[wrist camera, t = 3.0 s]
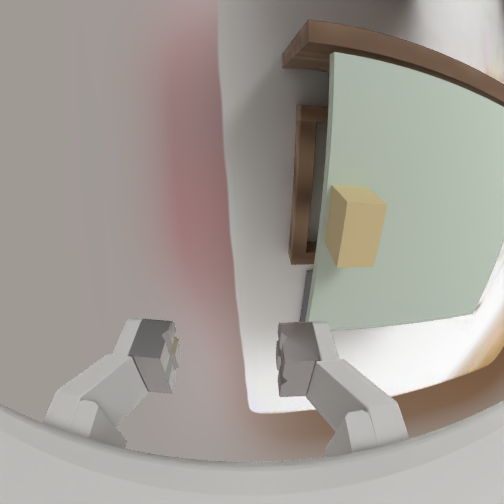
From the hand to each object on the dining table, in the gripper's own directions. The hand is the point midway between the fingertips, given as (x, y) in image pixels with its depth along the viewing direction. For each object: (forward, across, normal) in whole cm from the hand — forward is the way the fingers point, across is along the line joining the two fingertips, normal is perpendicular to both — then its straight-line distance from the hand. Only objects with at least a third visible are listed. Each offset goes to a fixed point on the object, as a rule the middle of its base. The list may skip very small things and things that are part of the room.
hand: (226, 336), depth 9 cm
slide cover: (+11, -15, 0) cm, 19 cm away
